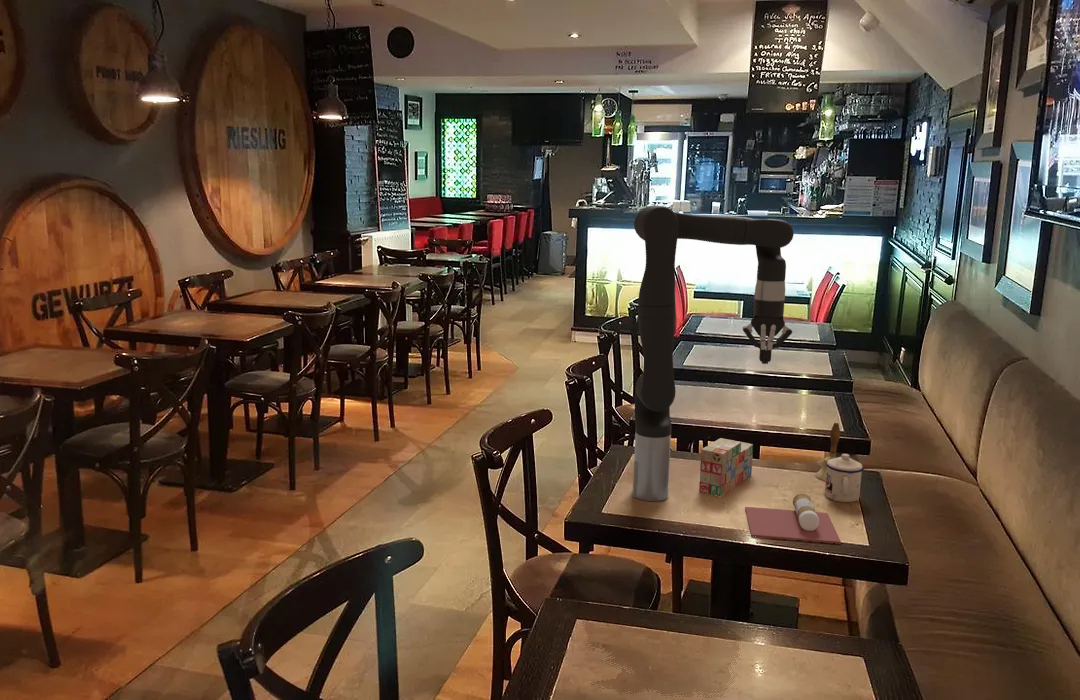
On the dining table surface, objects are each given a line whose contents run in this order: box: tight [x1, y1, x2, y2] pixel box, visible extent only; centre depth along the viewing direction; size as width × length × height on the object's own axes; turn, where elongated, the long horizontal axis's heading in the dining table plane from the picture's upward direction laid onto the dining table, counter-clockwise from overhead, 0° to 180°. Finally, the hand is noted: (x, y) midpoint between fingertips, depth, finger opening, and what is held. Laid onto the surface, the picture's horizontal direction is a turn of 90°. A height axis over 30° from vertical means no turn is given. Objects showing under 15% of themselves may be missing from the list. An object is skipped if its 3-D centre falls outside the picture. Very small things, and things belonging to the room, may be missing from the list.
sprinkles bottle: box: [792, 493, 819, 531], centre depth 196 cm, size 5×5×13 cm
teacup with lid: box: [824, 453, 864, 503], centre depth 211 cm, size 12×9×12 cm
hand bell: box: [815, 422, 841, 482], centre depth 226 cm, size 8×8×16 cm
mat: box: [744, 506, 842, 545], centre depth 194 cm, size 20×17×1 cm
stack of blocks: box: [698, 437, 754, 497], centre depth 221 cm, size 21×6×12 cm, turn 144°
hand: (764, 363), depth 211 cm, fingers closed
